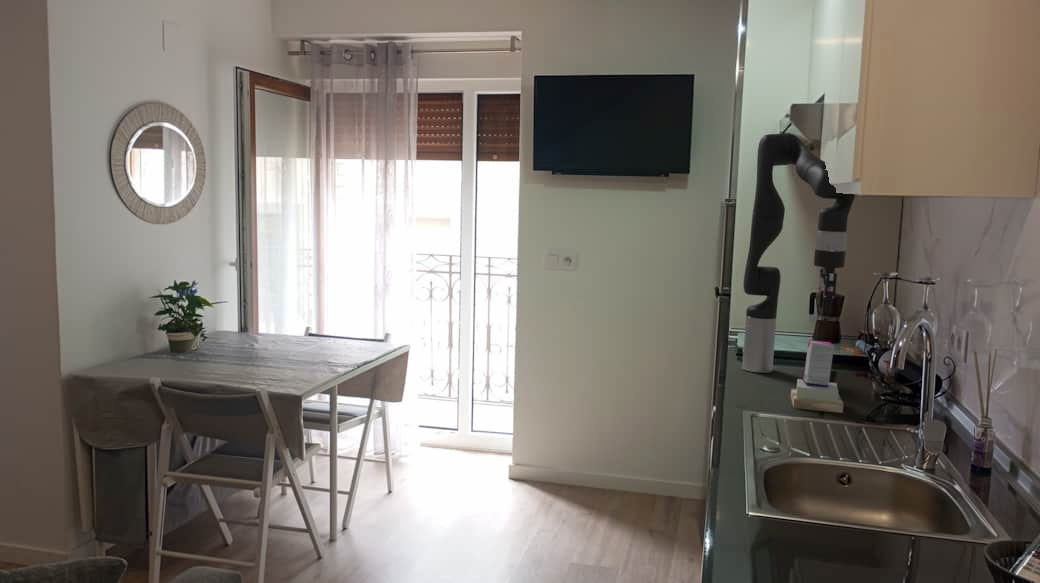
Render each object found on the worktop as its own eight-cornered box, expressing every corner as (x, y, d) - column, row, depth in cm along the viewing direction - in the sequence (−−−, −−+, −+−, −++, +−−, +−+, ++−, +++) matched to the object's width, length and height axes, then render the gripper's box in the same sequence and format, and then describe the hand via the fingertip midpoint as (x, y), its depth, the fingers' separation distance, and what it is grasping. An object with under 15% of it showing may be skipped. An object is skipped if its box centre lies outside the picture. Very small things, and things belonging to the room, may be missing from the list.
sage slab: (796, 389, 215) (797, 379, 214) (835, 394, 211) (836, 383, 211) (796, 397, 205) (797, 386, 205) (837, 402, 202) (838, 391, 202)
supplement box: (829, 387, 205) (834, 345, 204) (805, 385, 206) (810, 342, 205) (825, 383, 211) (830, 341, 209) (802, 380, 212) (807, 339, 211)
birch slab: (790, 399, 216) (791, 388, 216) (836, 403, 213) (837, 393, 212) (793, 410, 204) (794, 398, 204) (842, 415, 201) (843, 403, 201)
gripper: (812, 246, 211) (807, 305, 213) (818, 249, 197) (812, 312, 199) (841, 247, 209) (836, 307, 211) (849, 251, 195) (844, 315, 197)
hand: (825, 310), depth 205 cm, fingers open, 8 cm apart
